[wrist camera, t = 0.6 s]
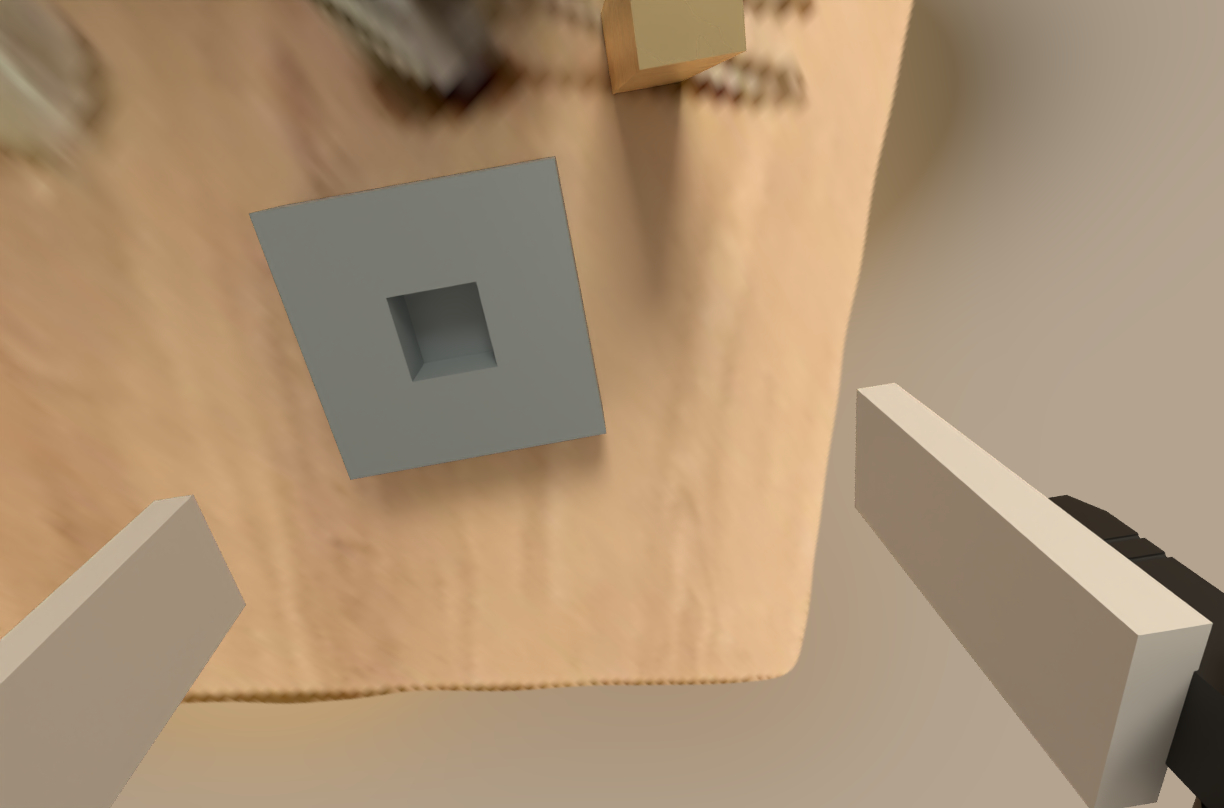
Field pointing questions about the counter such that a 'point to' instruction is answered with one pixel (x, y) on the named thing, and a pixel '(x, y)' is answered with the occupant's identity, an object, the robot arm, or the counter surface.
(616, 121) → the counter surface
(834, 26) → the counter surface
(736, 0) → the pin
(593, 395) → the bore block
